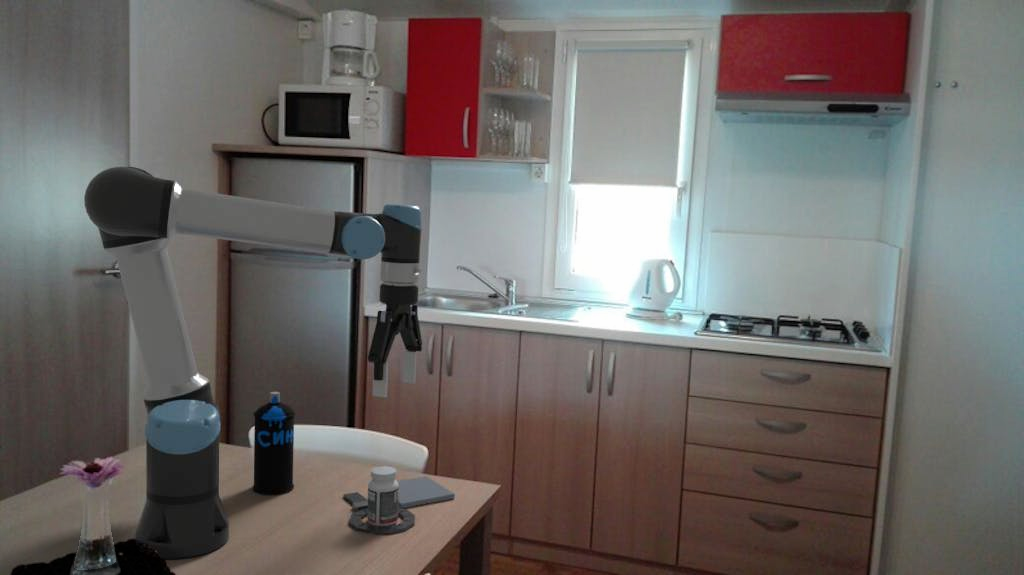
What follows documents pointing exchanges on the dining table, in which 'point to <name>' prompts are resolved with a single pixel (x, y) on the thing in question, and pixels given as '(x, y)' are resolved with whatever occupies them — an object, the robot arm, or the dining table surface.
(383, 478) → the pill bottle
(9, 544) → the dining table surface
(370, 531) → the iron eye
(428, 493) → the slate trivet
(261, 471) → the aerosol can
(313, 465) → the dining table surface
